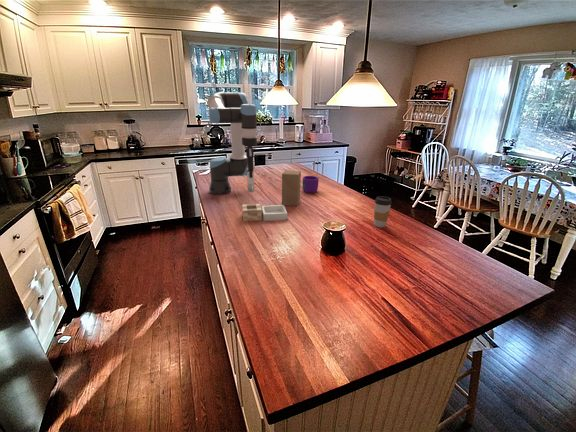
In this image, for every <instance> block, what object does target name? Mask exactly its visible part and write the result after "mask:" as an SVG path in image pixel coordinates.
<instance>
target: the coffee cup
mask: <svg viewBox="0 0 576 432" xmlns="http://www.w3.org/2000/svg"><path fill="white" fill-rule="evenodd" d="M391 205H392V198H391V197H389V196H383V195H382V196H376V198H375V201H374V212H373V225H374V226H375V227H377V228H385V227H386V226H387V222H388V219H389V215H390V210H391Z"/></svg>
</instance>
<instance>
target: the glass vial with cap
mask: <svg viewBox="0 0 576 432" xmlns="http://www.w3.org/2000/svg"><path fill="white" fill-rule="evenodd" d="M254 166H255V165H253V169H255V167H254ZM247 170H248V165H247ZM254 171H255V170H253V177H254V178H255V175H254ZM246 177H247V181H248V172H247V175H246ZM247 192H248V193H254V192H255V182H254V183H252V184H248V183H247Z"/></svg>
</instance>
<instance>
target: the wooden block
mask: <svg viewBox="0 0 576 432" xmlns="http://www.w3.org/2000/svg"><path fill="white" fill-rule="evenodd" d="M301 174H302V171H301V170H290V169H289V170H287V169H286V170H284V171H283V172H282V174H281V205H284V206H293V207H294V206H295V207H298V205H299V203H300V201H301V184H302V183H301V182H302V181H301V180H302V179H301V178H302V177H301V176H302V175H301Z"/></svg>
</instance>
